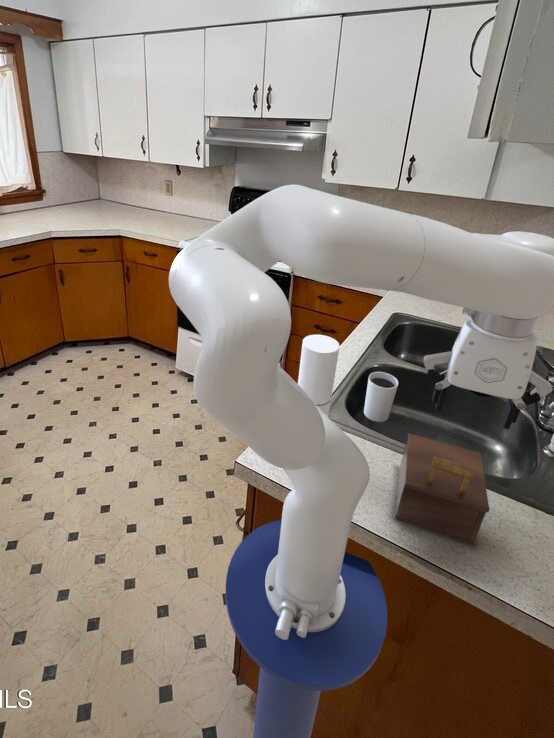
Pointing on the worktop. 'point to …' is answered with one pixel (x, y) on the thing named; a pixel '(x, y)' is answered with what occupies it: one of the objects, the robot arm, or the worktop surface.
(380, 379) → the white cup
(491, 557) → the worktop surface
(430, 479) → the lid
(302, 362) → the cylindrical container
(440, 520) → the chest
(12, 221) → the worktop surface
